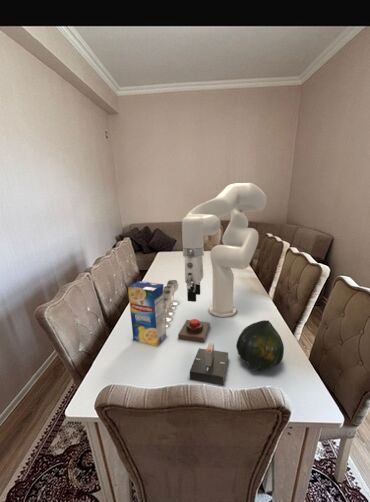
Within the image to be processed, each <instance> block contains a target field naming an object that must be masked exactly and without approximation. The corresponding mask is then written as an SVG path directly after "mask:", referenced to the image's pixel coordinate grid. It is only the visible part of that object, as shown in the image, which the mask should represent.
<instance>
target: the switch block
mask: <svg viewBox="0 0 370 502" xmlns="http://www.w3.org/2000/svg"><path fill="white" fill-rule="evenodd" d="M190 320H191V319H185V322H184V323H183V326H182V327H181V329H180V330H179V333H178V335H177V337H178V338H177V339H178V340H180V341H188V342H194V343H195V342H196V343H202V344H203V343H205V342H206V338H207V336H208V334H209V331H210V328H211V322H208V321H200V320H199V326H197V327H192V326H190Z"/></svg>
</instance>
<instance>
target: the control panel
mask: <svg viewBox="0 0 370 502" xmlns="http://www.w3.org/2000/svg"><path fill="white" fill-rule="evenodd" d="M206 350H207V348H201V347H200V348H198V350H197V352H196V355H195V356H194V359H193V362H192V363H191V364H192V365H191V367H190V369H189V380H191V381H197V382H202V383H207V384H212V385H219V386H224V384H225V377H226V374H227V368H228V362H229V352H228V351H220V350H214V358H213V362H212V365H211V366H206Z"/></svg>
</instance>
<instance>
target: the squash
mask: <svg viewBox="0 0 370 502" xmlns="http://www.w3.org/2000/svg"><path fill="white" fill-rule="evenodd" d="M235 349H236V351H237V355H238V356H239V357H240V359H241V360H242V361H243V362H245V363H247V365H248V367H249V369H251V370H253V371H256V370H262V371H264V372H265V371H269V370H270V369H272V368H273V367H277V366H278V365H279V364H280V363H282V360H283V358H284V351H285V347H284V342H283V339H282V337H281V335H280V334H279V332H278V331H277V329H276V328H275V327H274V325H273V323H271V321H270V320H265V319H264V320H260V321H256V322H253V323H251V324H249V325H247V326H246V327H244V329H242V331H241V333H240V334H239V336H238V337H237V341H236V345H235Z"/></svg>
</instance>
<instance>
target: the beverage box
mask: <svg viewBox="0 0 370 502" xmlns="http://www.w3.org/2000/svg"><path fill="white" fill-rule="evenodd" d="M164 287H165V286H164V284H163V283H157V282H149V281H141V280H138V281H136V282H134V283H132V284H130V285H128V286H127V292H128V301H129V310H130V311H129V312H130V321H131V331H132V340H133V341H136V342H139V343H144V344H148V345H152V346H156V347H158V346H159V345H160V344H161V343H162V342H163V341H164V340H165V339H166V338H167V328H166V323H167V322H165V317H166V315H165V304H164Z"/></svg>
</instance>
